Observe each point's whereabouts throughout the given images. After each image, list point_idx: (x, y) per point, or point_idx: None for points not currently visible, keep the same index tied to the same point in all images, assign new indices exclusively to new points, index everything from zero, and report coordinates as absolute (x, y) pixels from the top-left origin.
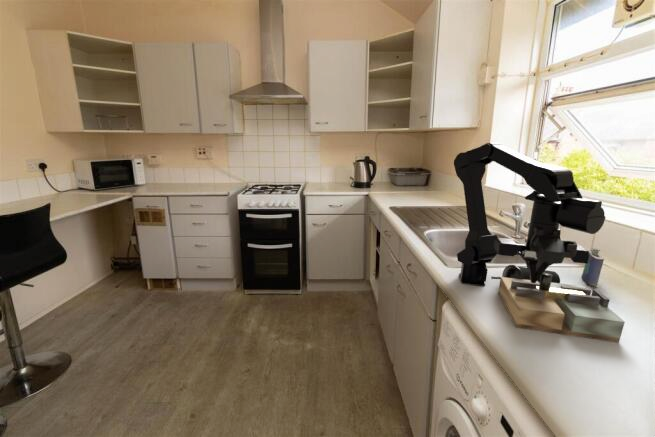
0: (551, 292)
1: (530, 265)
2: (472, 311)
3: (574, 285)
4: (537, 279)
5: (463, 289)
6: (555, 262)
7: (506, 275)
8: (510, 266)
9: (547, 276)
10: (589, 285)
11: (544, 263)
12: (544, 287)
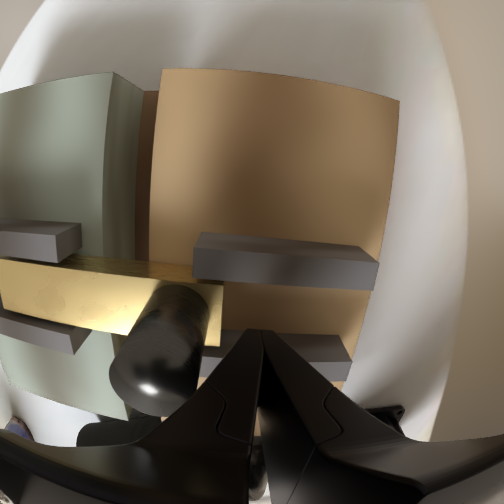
0: (144, 276)
1: (382, 432)
2: (460, 218)
3: (34, 390)
4: (239, 343)
5: (418, 370)
6: (12, 452)
7: None
8: (257, 494)
9: (158, 352)
10: (23, 423)
11: (235, 473)
12: (184, 298)
